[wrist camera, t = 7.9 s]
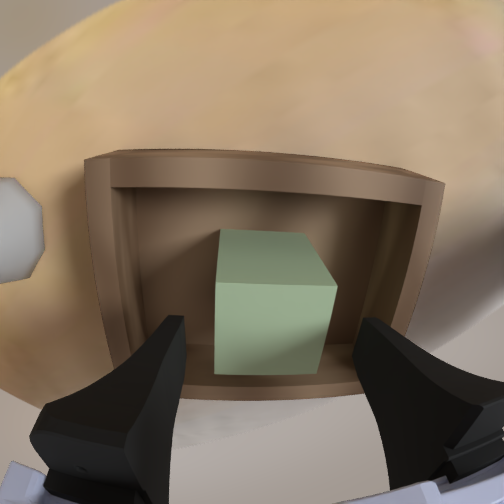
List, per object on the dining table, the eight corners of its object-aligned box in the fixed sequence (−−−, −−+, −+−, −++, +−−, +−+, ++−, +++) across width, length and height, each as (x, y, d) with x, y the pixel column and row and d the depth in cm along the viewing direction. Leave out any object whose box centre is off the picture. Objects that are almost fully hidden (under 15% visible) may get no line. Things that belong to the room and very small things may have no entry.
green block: (304, 233, 17) (337, 286, 12) (293, 304, 19) (316, 373, 13) (220, 228, 17) (215, 282, 11) (218, 302, 18) (214, 374, 13)
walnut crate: (401, 168, 17) (445, 183, 13) (360, 348, 22) (382, 391, 18) (119, 150, 15) (84, 159, 11) (136, 346, 20) (120, 392, 16)
